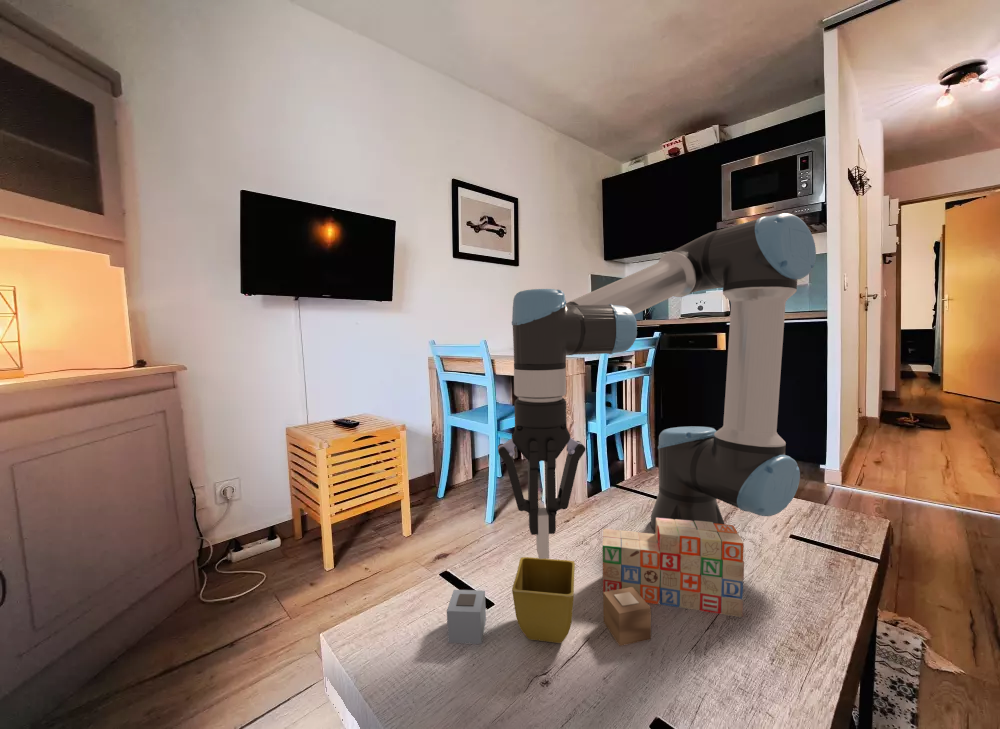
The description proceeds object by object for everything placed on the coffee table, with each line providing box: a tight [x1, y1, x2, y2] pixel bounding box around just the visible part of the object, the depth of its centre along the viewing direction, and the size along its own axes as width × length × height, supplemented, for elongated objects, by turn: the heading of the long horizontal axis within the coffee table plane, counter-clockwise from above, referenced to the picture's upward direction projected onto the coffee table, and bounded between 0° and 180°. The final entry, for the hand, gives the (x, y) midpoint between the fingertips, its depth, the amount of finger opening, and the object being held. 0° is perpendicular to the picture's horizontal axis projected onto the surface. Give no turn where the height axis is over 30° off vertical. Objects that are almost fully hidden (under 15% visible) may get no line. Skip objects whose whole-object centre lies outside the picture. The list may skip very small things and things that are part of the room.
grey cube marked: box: [446, 589, 487, 645], centre depth 62 cm, size 5×5×5 cm
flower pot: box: [511, 556, 576, 644], centre depth 62 cm, size 9×9×9 cm
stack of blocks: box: [601, 518, 745, 618], centre depth 69 cm, size 21×6×12 cm, turn 73°
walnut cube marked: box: [602, 587, 652, 647], centre depth 61 cm, size 5×5×5 cm
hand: (542, 553), depth 61 cm, fingers closed
